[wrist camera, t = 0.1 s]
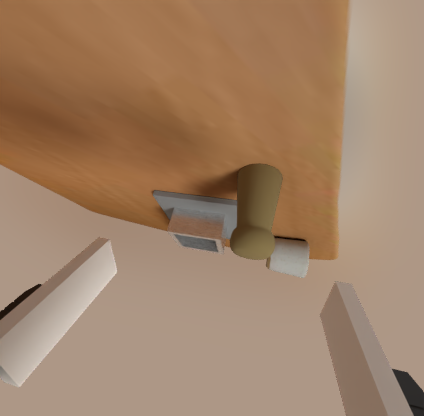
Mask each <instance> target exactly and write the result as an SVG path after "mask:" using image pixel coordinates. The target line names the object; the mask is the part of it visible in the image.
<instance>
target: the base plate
mask: <svg viewBox="0 0 424 416" xmlns="http://www.w3.org/2000/svg"><path fill="white" fill-rule="evenodd" d="M153 196H154V197H155V199H156V200H157V202H158V203H159V205H160V206H161V208H162V209H163V211H164V212H165V214H166V215H167V216H168V218H169V219H170V220H171V217H172V213H173V210H174V207H175V208H183V209H190V210H197V211H205V212H212V213H220V214H225V217H226V228H227V236H226V239H230V238H231V234H232V232H233V230H234V229H235V228H236V227H237V200H229V199H221V198H213V197H205V196H197V195H189V194H181V193H172V192H164V191H156V190H154V193H153Z"/></svg>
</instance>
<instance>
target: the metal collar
mask: <svg viewBox="0 0 424 416" xmlns="http://www.w3.org/2000/svg"><path fill="white" fill-rule="evenodd" d="M167 232H168V233H169V234H170V236H171V237H172V238H173V239H174V240H175V242H176V243H177V244H178V245H179V246H180V247H183V248H189V249H195V250H200V251H206V252H212V253H218V254H223V253H224V247H225V242H226V236H227V228H226V217H225V214H220V213H212V212H205V211H197V210H190V209H183V208H175V207H174V210H173V213H172V217H171V220H170V223H169V226H168V230H167Z"/></svg>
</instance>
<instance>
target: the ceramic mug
mask: <svg viewBox="0 0 424 416" xmlns="http://www.w3.org/2000/svg"><path fill="white" fill-rule="evenodd" d="M274 239H275V249H274V252H273V253H272V255H271V256H270V257H269V258H267V262H266V267H268V269H270V270H273V271H276V272H281V273H285V274H290V275H293V276H298V277H301V278H304V277H305V276H306V274H307V270H308V264H309V244H308V242H306V241H299V240H290V239H282V238H274Z"/></svg>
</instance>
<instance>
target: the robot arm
mask: <svg viewBox="0 0 424 416" xmlns="http://www.w3.org/2000/svg"><path fill="white" fill-rule="evenodd" d="M116 273H117V268H116V264H115V259H114V256H113V251H112V247H111V243H110V239H105V238H98V239H96V240H95V241H94V242H93V243H92V244H91V245H90V246H88V247H87V248H86V249H85V250H83V251H82V252H81V253H80V254H79V255H77V256H76V257H75V258H74V259H73V260H71V261H70V262H69V263H68V264H67V265H66V266H64V267H63V268H62V269H61V270H60V271H58V273H56V274H55V275H54V276H52V277H51V278H50V279H49V280H48V281H46V282H45V283H44V284H43V285H41V284H38V285H36V286H34V287H32V288H31V289H29V290H27V291H25V292H24V293H23V294H22V295H20V296H19V297H18V298H17V299H15V300H14V302H12V303H10V304H9V305H8V306H7V307H5V309H4V310H2V311H1V312H0V378H1V379H2V380H3V381H4V382H5V383H8V384H11V385H14V386H17V387H20V386H21V385H22V384H23V382H24V381H25V380H26V379H27V378H28V376H29V375H30V374H31V373H32V372H33V371H34V369H35V368H36V367H37V366H38V365H39V363H40V362H41V361H42V360H43V359H44V358H45V356H46V355H47V354H48V353H49V352H50V351H51V349H52V348H53V347H54V346H55V345H56V344H57V342H58V341H59V340H60V339H61V338H62V336H63V335H64V334H65V333H66V331H68V329H69V328H70V327H71V326H72V325H73V323H74V322H75V321H76V320H77V319H78V318H79V316H80V315H81V314H82V313H83V312H84V310H85V309H86V308H87V307H88V306H89V305H90V303H91V302H92V301H93V300H94V299H95V298H96V296H97V295H98V294H99V293H100V292H101V290H102V289H103V288H104V287H105V286H106V285H107V283H108V282H109V281H110V280H111V279H112V278H113V276H114V275H115V274H116ZM320 317H321V320H322V324H323V328H324V332H325V335H326V340H327V343H328V347H329V351H330V355H331V359H332V362H333V367H334V371H335V374H336V378H337V382H338V386H339V390H340V394H341V398H342V401H343V405H344V409H345V413H346V416H424V392H423V390H422V389H421V388H420V387H419V386H418V385H417V383H416V382H415V381H414V380H413V379H412V377H411V376H410V375H409V374H408V373H407V372H403V371H399V370H395V369H391V367H390V365H389V362H388V360H387V358H386V356H385V354H384V352H383V350H382V347H381V345H380V343H379V341H378V339H377V337H376V335H375V333H374V331H373V328H372V326H371V324H370V322H369V320H368V318H367V316H366V314H365V311H364V309H363V307H362V305H361V303H360V301H359V299H358V297H357V295H356V293H355V290H354V288H353V286H352V284H349V283H343V282H338V281H335V283H334V285H333V287H332V290H331V292H330V294H329V297H328V299H327V301H326V303H325V305H324V307H323V310H322V312H321V314H320Z"/></svg>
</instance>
